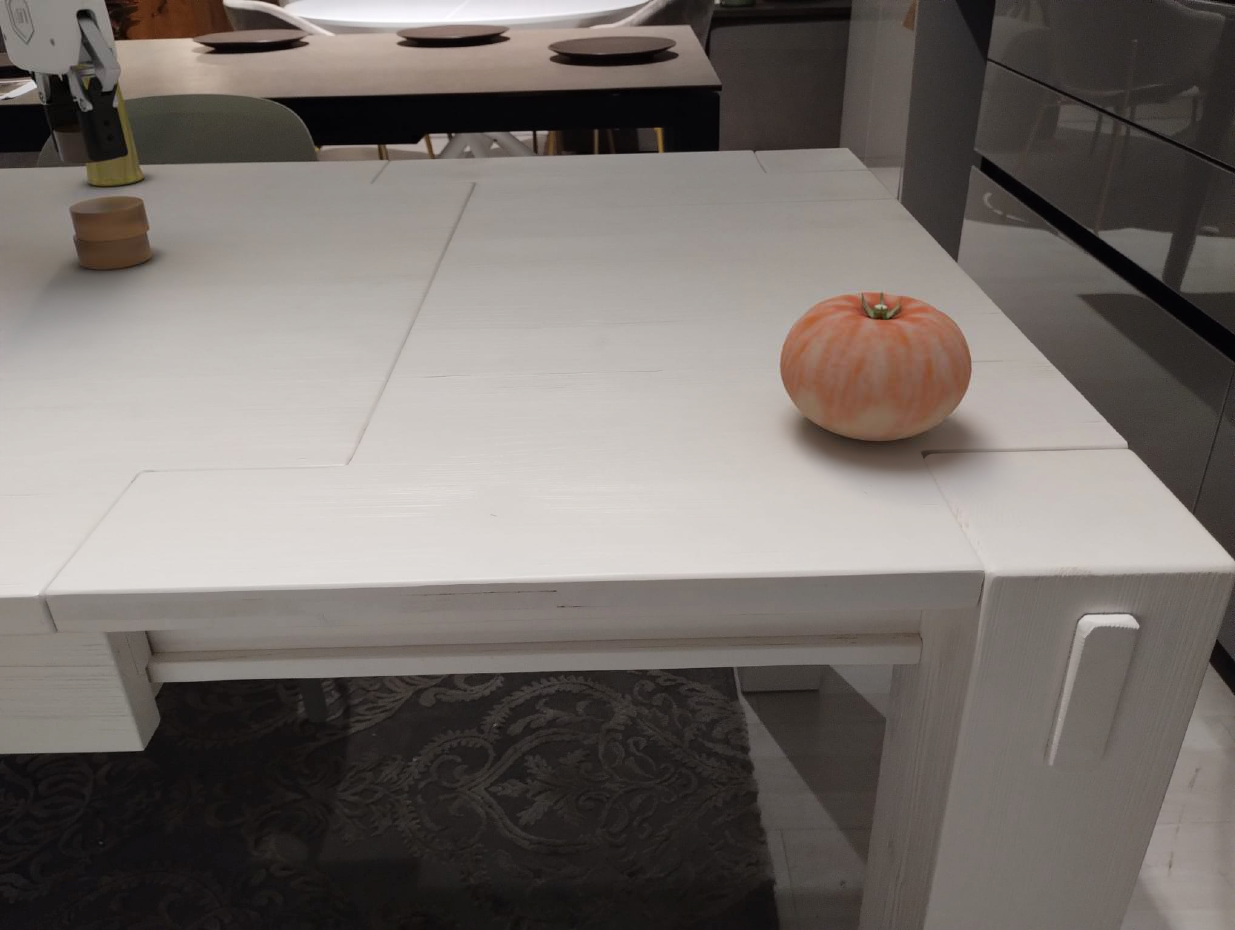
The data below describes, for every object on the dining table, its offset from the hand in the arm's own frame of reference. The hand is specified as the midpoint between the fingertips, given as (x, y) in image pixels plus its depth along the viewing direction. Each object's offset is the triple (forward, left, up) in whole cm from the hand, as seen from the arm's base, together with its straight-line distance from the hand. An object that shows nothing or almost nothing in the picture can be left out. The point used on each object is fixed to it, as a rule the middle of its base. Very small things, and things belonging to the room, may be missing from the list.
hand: (92, 152), depth 87 cm
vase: (-30, +16, -10) cm, 35 cm away
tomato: (+69, +10, -10) cm, 70 cm away
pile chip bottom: (0, 0, -10) cm, 10 cm away
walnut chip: (0, 0, 0) cm, 0 cm away
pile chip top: (0, 0, -7) cm, 7 cm away
